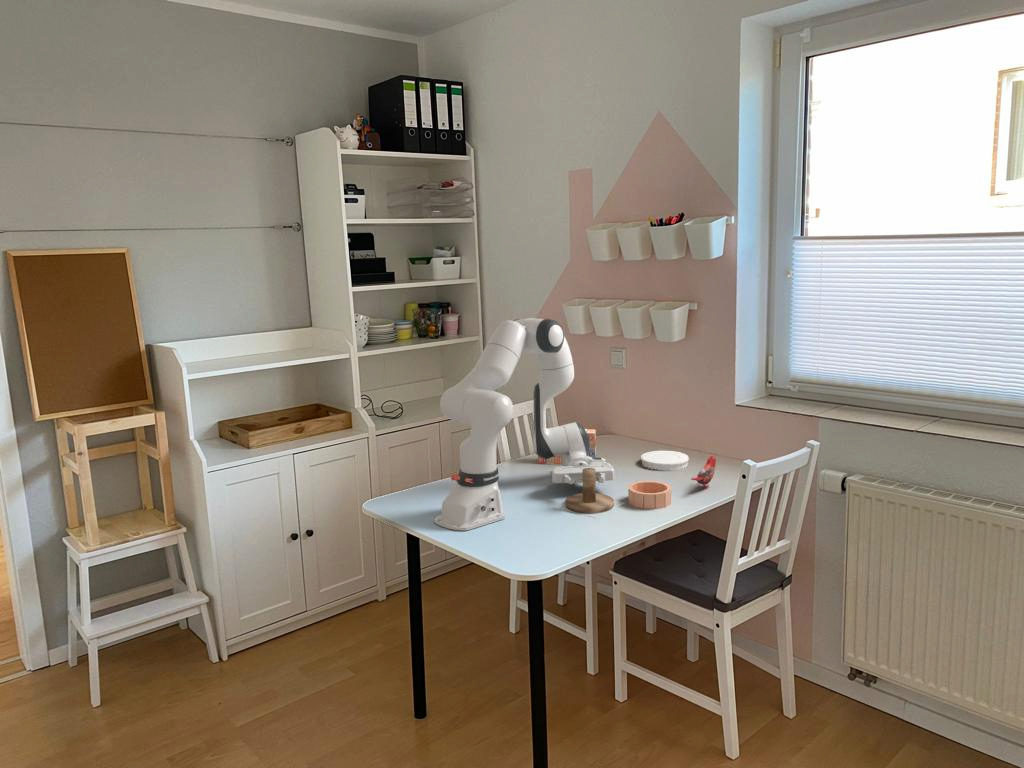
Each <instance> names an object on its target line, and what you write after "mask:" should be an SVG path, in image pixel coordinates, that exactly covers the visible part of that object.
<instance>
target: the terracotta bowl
mask: <svg viewBox="0 0 1024 768" xmlns="http://www.w3.org/2000/svg"><path fill="white" fill-rule="evenodd" d="M627 491H628V504H630V505H631V506H632V507H634V508H637V509H638V508H639V509H643V510H646V509H647V510H658V509H663V508H667V507H669V506H670V505H672V486H671V485H669V484H668V483H665V482H662V481H661V482H660V481H656V480H641V481H636V482H633V483H630V484H629V485H628V490H627Z"/></svg>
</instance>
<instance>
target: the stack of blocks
mask: <svg viewBox="0 0 1024 768" xmlns="http://www.w3.org/2000/svg"><path fill="white" fill-rule="evenodd" d="M584 429H585V431H586V433H587V435H588V439H589V444H590V448H589V451H588V453H587V454H586V455H587V456H589V457H595V458H597V441H596V440H597V434H596V433H597V430H596V429H593V428H592V429H591V428H589V429H588V428H584ZM537 457H538V458H537V464H539V465H540V464H541V465H542V464H543V465H563V464H562V454H561V455H557V456H555V457H551V458H548V459H544V458H541V457H540V456H538V455H537Z"/></svg>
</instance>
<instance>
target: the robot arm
mask: <svg viewBox="0 0 1024 768" xmlns="http://www.w3.org/2000/svg"><path fill="white" fill-rule="evenodd" d="M522 352H525V353H531V354H532V353H533V354H537V355H538V362H539V368H540V378H539V381H538V382H537V383H536V384H535V385H534V388H533V438H532V446H533V450H534V453H535V454H536V455H537V457H538V456H540V457H541V458H544V459H548V458H551V457H555V456H557V455H561V454H562V464H561V465H562V466H555V467H553V468H552V469H550V470H549V471H548V473H549V475H550V476H551V480H552V483H553V484H568V485H575V483H578V484H583V476H582V470H583V469H584V468H594V469H595V478H596V482H598V484H603V483H604V482H605V481H606V482H607V481H613V480H614V479H615V469H614V467H613V465H611V464H610V463H609V462H606V458H603V457H596V458H595V457H589V456H587V455H586V454H587V453H588V451H589V448H590V444H589V439H588V435H587V433H586V431H585V429H586V428H585V427H584V426H583V424H581V423H579V422H577V421H575V422H570V423H566V424H562V425H558V426H553V427H548V428H547V406H548V404H549V403H550V401H552V400H553V399H554V398H555V397H557V396H558V395H560V394H562V393H563V392H564V391H566V390H567V389H568V388H569V387H571V384H572V383H573V381H574V379H575V367H574V362H573V361H574V360H573V355H572V353H571V349H570V346H569V343H568V341H567V339H566V336H565V333H564V329H563V327H562V325H561V323H560V322H558V321H557V320H554V319H550V318H545V319H544V318H535V317H531V318H529V317H528V318H522V319H521V318H516V319H513V320H510V319H508V320H503V321H502V322H500V323H499V325H498V326H497V327H496V329H495V330H494V331H493V333H492V334H491V335H490V338H489V340H488V341H487V343H486V345H485V347H484V349H483V351H482V352H481V355H480V356H479V358H478V361H477V363H475V366H474V367H473V368H472V369H471V370H470V371H469V373H468V374H467V375H465V377H464V378H463V379H462V380H460V381H459V382H458V383H457V384H455V385H454V386H452V387H450V388H447V389H446V390H445V391H444V392H443V394H442V395H441V396H440V397H441V398H440V399H439V400H440V401H439V408H440V411H441V414H442V416H444V417H445V418H447V419H450V420H451V421H454V422H455V423H461V424H466V425H470V433H469V436H468V437H466V438H464V439H463V441H462V442H461V443H460V445H459V458H460V459H459V461H460V469H459V472H458V474H456V473H451V475H450V480H451V481H454V482H456V484H455V485H454V487H453V488H452V490H450V492H449V493H448V495H447V496H446V497H445V498H444V500H443V501H442V504H441V513H440V514H439V515H437V516H436V517H434V519H433V522H434V523H435V524H436V525H438V526H439V527H443V528H445V529H449V530H454V531H466V532H467V531H471V530H473V529H475V528H476V529H477V528H479V527H483V526H485V525H489V524H492V523H495V522H498V521H501V520H504V519H505V518H506V516H505V510H504V507H503V503H502V497H501V492H500V487H499V482H498V481H499V479H500V477H499V474H500V472H499V467H497V465H498V463H497V462H498V461H497V447H498V445H497V444H498V440H499V437H500V434H501V432H502V430H503V429H504V428H505V427H506V426H507V425H508V424H509V423H510V422H511V420H512V419H513V416H514V405H513V400H511V398H510V397H509V396H508V395H505V394H503V393H501V392H499V391H496V390H497V389H499V388H500V387H503V386H504V385H506V384H507V383H508V382H509V381H510V379H511V378H512V376H513V373H514V371H515V369H516V367H517V364H518V363H519V360H520V358H521V355H522Z"/></svg>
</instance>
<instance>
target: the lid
mask: <svg viewBox="0 0 1024 768" xmlns="http://www.w3.org/2000/svg"><path fill="white" fill-rule="evenodd" d="M689 460H690V457H689V455H688V454H686V453H683V452H681V451H676V450H675V451H674V450H653V451H652V450H651V451H647V452H645V453H642V454H641V455H640V461H641V465H642V466H643V465H644V466H645V467H644V466H643V467H644V468H646V467H648V468H647V469H649V468H651V469H650V470H653V469H658V470H657V471H660V470H672V471H678V470H677V469H679V470H682V469H681V468H683V469H685V468H686V466H688V465H689ZM684 467H685V468H684Z"/></svg>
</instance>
